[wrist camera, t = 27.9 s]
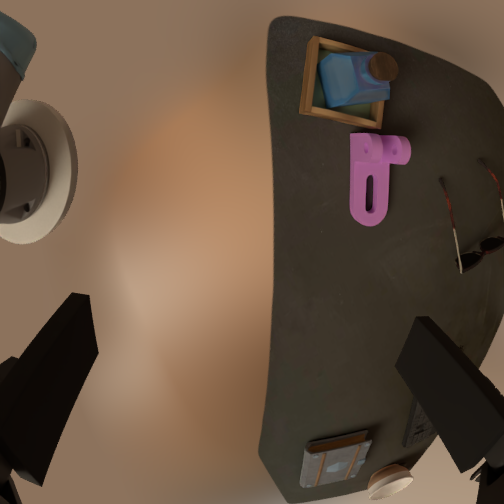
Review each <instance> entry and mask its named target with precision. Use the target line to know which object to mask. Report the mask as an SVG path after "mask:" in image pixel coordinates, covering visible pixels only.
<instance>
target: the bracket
mask: <svg viewBox="0 0 504 504" xmlns="http://www.w3.org/2000/svg"><path fill="white" fill-rule="evenodd" d="M410 156H411V146H410V143H409V141H408V139H407V138H406V137H404V136H393V135H378V134H372V133H350V212H351V214H352V216H353V218H354V219H355V220H356V221H358V222H359V223H361V224H362V225H365V226H374V225H376V224H378V223H380V222H381V221H382V220H383V218H384V217H385V215H386V213H387V209H388V193H389V165H390V163H392V164H402V165H405V164H407V163H408V161H409V159H410ZM369 175H372V176H373V205H372V208H371V210H369V211H366V209H365V204H366V179H367V177H368V176H369Z"/></svg>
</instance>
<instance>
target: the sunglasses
mask: <svg viewBox="0 0 504 504" xmlns="http://www.w3.org/2000/svg"><path fill="white" fill-rule="evenodd" d="M478 162H479V163H480V164H481V165H483V166H484V167H485V168H486V169H487V170H488V171H489V173H490V174H491V175H492V176H493V178H494V179H495V181H496V183H497V186H498V190H499V195H500V199H501V205H502V211H503V218H504V208H503V201H502V195H501V190H500V186H499V183H498V180H497V178H496V177H495V175H494V174H493V173H492V172H491V171H490V169H489V168H488V167H487V166H486V165H485V164H484V163H483V162H482V161H481V160H480V159H479V160H478ZM439 182H440V184H441V186H442V188H443V190H444V193H445V196H446V200H447V203H448V206H449V211H450V217H451V222H452V226H453V230H454V235H455V241H456V246H457V252H458V257H457V258H456V259H455V263H456V264H457V268H458V269H460V272H461V273H464V272H466V271H468V270H470V269H472V268H474V267H475V266H476V265H478V264H479V263H480V262H481V260H482V259H483V256H484V255H486V254H490V253H493V252H495V251H497V250H499V249H500V248H502V247H503V246H504V238H502V237H499V236H498V237H497V238H496V237H488V238H486V239H484V240H482V241H481V242H480V244H479V245H480V249H481V251H482V252H477V251H473V252H466V253H463V254H461V255H459V249H458V243H457V237H456V232H455V224H454V219H453V214H452V208H451V204H450V201H449V198H448V195H447V192H446V189H445V186H444V183H443V180H442V178H440V179H439Z"/></svg>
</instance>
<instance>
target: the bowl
mask: <svg viewBox="0 0 504 504" xmlns="http://www.w3.org/2000/svg"><path fill="white" fill-rule="evenodd" d="M413 479H414V478H413V477H412V476H411V474H410V472H409V470H408V469H407V468H405V467H403V466H399V465H398V464H393V465H389V466H386V467H384V468H382V469H380V470H378V471H377V472H375V473H374V474H373V475H372V476H371V478H370V481H369V483H368V492H369V495H370V496H369V498H370V499H371V500H378V499H382V498H385V497H388V496H391V495H393V494H395V493H397V492H399V491H401V490H402V489H404V488H405V487H407V486H408V485H409V484H410V483H411V482H412V481H413Z"/></svg>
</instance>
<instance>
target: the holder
mask: <svg viewBox="0 0 504 504" xmlns="http://www.w3.org/2000/svg"><path fill="white" fill-rule="evenodd" d="M345 52H369V51H366V50H363V49H360V48H357V47H354V46H350V45H347V44H344V43H340V42H336V41H333V40H329V39H325V38H321V37H317V36H313V37H312V38H311V40H310V41H309V42H308V44H307V53H306V61H305V69H304V77H303V85H302V93H301V101H300V109H299V113H300V114H306V115H311V116H316V117H321V118H325V119H330V120H334V121H339V122H343V123H347V124H351V125H355V126H359V127H363V128H367V129H381V126H382V117H383V109H384V100H382V101H377V102H372V103H367V104H358V105H349V106H341V107H334V108H326V103H325V99H324V95H323V91H322V87H321V83H320V80H319V76H318V72H317V64H318V63H319V62H320V61H322V60H323V59H324V58H326V57H327V56H328V55H329V54H331V53H345Z"/></svg>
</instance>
